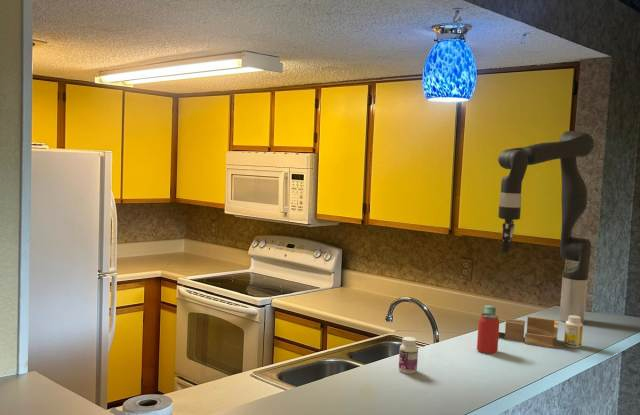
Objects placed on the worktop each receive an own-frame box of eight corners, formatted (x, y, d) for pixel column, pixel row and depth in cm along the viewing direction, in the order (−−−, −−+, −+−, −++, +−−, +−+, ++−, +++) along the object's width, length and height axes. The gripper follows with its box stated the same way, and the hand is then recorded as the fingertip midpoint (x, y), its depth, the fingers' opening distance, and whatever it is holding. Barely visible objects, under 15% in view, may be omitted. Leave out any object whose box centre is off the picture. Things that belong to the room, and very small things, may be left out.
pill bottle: (394, 368, 186) (396, 336, 185) (410, 367, 188) (412, 335, 187) (404, 374, 181) (406, 342, 180) (420, 373, 183) (422, 340, 182)
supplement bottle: (576, 343, 220) (578, 314, 219) (584, 348, 214) (586, 318, 213) (560, 343, 219) (563, 314, 218) (568, 348, 214) (570, 318, 213)
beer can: (472, 351, 206) (475, 314, 205) (482, 347, 211) (485, 311, 210) (491, 356, 202) (493, 319, 201) (501, 351, 206) (503, 315, 205)
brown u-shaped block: (526, 335, 227) (527, 316, 226) (556, 339, 223) (558, 320, 223) (524, 343, 217) (526, 323, 216) (556, 348, 213) (557, 327, 213)
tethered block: (483, 331, 230) (485, 304, 229) (523, 337, 225) (525, 309, 224) (481, 335, 224) (483, 307, 224) (522, 341, 219) (524, 313, 218)
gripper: (519, 207, 218) (516, 254, 219) (522, 205, 231) (519, 249, 232) (497, 206, 220) (493, 252, 222) (501, 203, 234) (498, 247, 235)
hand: (506, 250), depth 227 cm, fingers open, 8 cm apart
